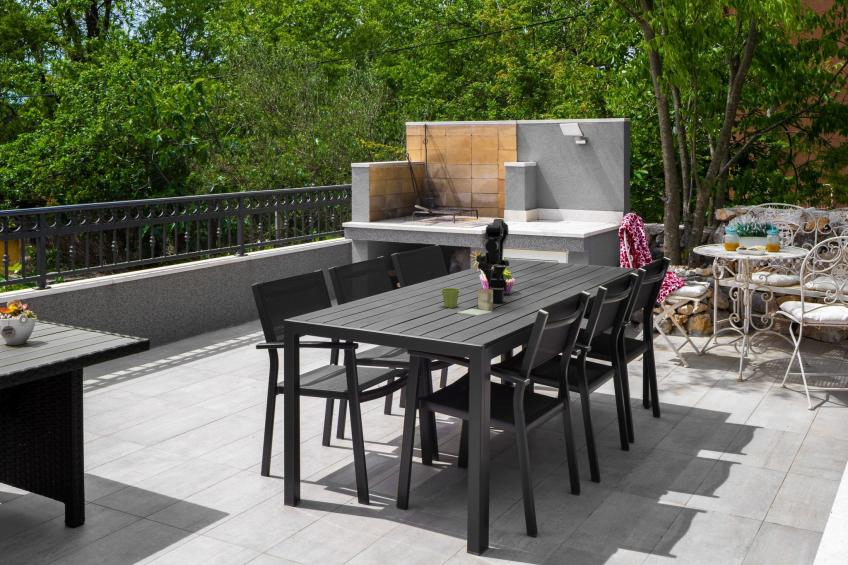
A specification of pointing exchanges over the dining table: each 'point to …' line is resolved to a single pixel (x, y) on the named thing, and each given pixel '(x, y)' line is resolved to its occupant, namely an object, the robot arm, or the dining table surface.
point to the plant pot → (450, 297)
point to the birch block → (485, 299)
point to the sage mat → (474, 312)
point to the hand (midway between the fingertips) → (493, 282)
